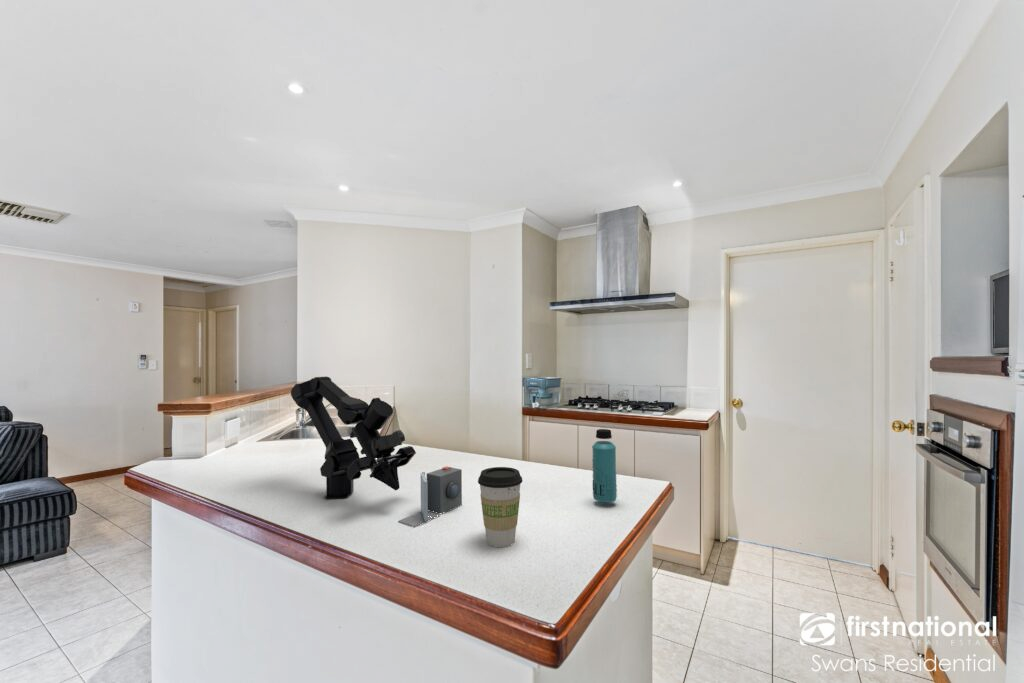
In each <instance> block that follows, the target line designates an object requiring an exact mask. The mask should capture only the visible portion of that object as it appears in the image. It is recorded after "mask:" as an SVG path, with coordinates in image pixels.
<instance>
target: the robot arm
mask: <svg viewBox="0 0 1024 683" xmlns="http://www.w3.org/2000/svg"><path fill="white" fill-rule="evenodd" d="M290 396H291V398H292V400H293V401H294V402H295V404H296V405H297V406H298V407H299V408H301V409H302V410H305V411H306V412H307V414H308V416H309V417H310V420H311V421H312V424H313V425H314V427H315V429H316V431H317V433H318V435H319V437H320V439H321V440H322V443H323V444H324V446H325V453H324V460H325V461H324V463H322V465H321V467H320V468H319V470H320V475H321V476H322V477H325V480H326V489H325V491H326V493H325V494H326V495H324V497H323V498H324V499H325V498H330V499H345V498H346V499H348V498H349V497H348V496H349V495H350V496H351V494H352V493H353V492H354V484H355V483H354V480H358V479H360V478H361V475H362V472H363V471H366V470H370V472H371V473H370V474H369V478H373V479H376V480H377V481H379V482H381V483H383V484H384V485H386V486H387V487H388V488H390V489H393V490H394V491H398V490H400V480H399V473H398V468H400V467H404V466H406V465H407V464H409V462H410V461H411V460H412V458H413V457H414V456H415V455H416V454H417V452H416V450H415V448H414V446H411V445H408V446H405V447H399V449H398V450H397V451H396V449H395V448H396V447H398V446H402V445H403V442H405V441H406V438H405V437H406V436H405V434H404V433H403V431H402V430H401V429H399V430H395V431H393V432H392V433H390V434H387V435H384V434H383V435H381V433H380V432H379V430H381V429H383V427H384V426H385V425H386V424H387V422H388V420H389V419H390V418H391V416H392V415H393V413H394V409H393V407H392V405H391V404H389V403H388V402H386V401H385V400H381V398H380V397H373V398H372V399H371V400H370V403H369V404H368V402H366V401H364V400H362V399H361V398H356V397H353V396H350V395H349V394H348V393H347V392H345V390H343V389H342V388H341V387H339V386H338V385H337V384H336V383H335V382H334V381H332V378H331V377H329V376H316V377H312V378H311V379H309V380H306V381H303V382H300V383H295V384H294V385H293V387H292V388H291V390H290ZM324 399H325V400H326V401H327V402H329V404H331V405H332V406H333V407H334V408H335V409H336V411H337V414H336V415H337V417H338V418H339V419H340V421H341V422H342V423H343V424H344V425H345V426H346V425H347V426H348V425H349V426H350V425H353V424H356V425H355V426H354V427H352V428H351V432H350V434H349V438H346V439H344V438H342V436H341V434H340V432H339V430H338V428H337V427H336V424H335V422H334V421H333V418H332V417H331V415H330V414H329V412H328V410H327V408H326V407H325V405H324V402H323V400H324ZM353 438H355V439H356V440H357V442H358V443H359V446H360V447H361V450H360V454H361V455H365V456H363V457H362V456H361V457H360V454H359V452H358V448H357V447H356V445H355V444H354V441H353V440H352V439H353ZM395 451H396V453H395V454H392V453H394V452H395ZM347 497H348V498H347Z"/></svg>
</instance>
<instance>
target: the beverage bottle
mask: <svg viewBox="0 0 1024 683" xmlns="http://www.w3.org/2000/svg"><path fill="white" fill-rule="evenodd" d="M595 434H596V435H595V438H596V439H601V440H598V441H596V442H594V444H593V445H592V459H591V461H592V462H591V463H592V496H593V499H594V500H595V501H596V502H601V503H613V502H615V501H616V500H617V498H618V495H617V494H618V492H617V491H618V490H617V489H618V488H617V463H616V462H617V460H616V454H617V453H616V451H617V450H616V448H617V446H616V445H615V444H614V442H612V441H608V440H610V439H612V430H611V429H607V428H606V429H605V428H599V429H596V431H595Z"/></svg>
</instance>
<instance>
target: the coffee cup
mask: <svg viewBox="0 0 1024 683" xmlns="http://www.w3.org/2000/svg"><path fill="white" fill-rule="evenodd" d="M477 483H478V484H479V487H480V501H481V503H480V504H481V511H482V519H483V526H484V532H485V539H486V543H487V545H489V544H490V545H489V546H491V545H492V546H491V547H494V546H496V547H495V548H505V546H506V547H509V545H510V546H512V545H513V544H514V543H515V541H516V532H517V526H518V517H519V511H520V510H519V509H520V499H521V493H520V492H521V484H522V483H523V476H522V475H521V474H520V470H518V469H516V468H513V467H507V466H495V467H488V468H485V469H482V470H481V471H480V475H479V476H478V479H477ZM511 544H512V545H511Z"/></svg>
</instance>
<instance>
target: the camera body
mask: <svg viewBox="0 0 1024 683" xmlns="http://www.w3.org/2000/svg"><path fill="white" fill-rule="evenodd" d="M462 472H463V471H462V469H461V468H456V467H452V466H447V465H446V466H443V467H442V468H439V469H436V470H433V471H431V472H427V473H426V479H427V482H428V510H430V511H434V512H437V513H443V512H445V513H447V512H446V511H448V510H450V509H452V510H454V509H456V508H455V507H457V508H458V506H459V507H461V506H463V490H462V488H463V486H462V484H463V482H462V481H463V480H462V478H463V476H462V474H463V473H462ZM460 505H461V506H460ZM453 508H454V509H453ZM430 511H428V516H429V517H428V520H430V519H433V518H434V517H437V515H438V516H439V515H440V514H437V513H434V512H430ZM450 511H451V510H450ZM448 512H449V511H448ZM443 514H444V513H443ZM430 516H431V517H432V518H431V517H430ZM439 517H440V516H439ZM437 518H438V517H437ZM433 520H434V519H433ZM430 521H431V520H430ZM400 522H401V523H400ZM424 522H426V521H424V518H423V515H422V512H421V511H419V512H416V513H414V514H411V515H409V516H406V517H404V518H402V519H399V520H398V523H400V524H403V523H404V524H403V525H406V524H407V526H409V525H410V526H409V527H412V526H413V527H412V528H416V526H417V527H418V525H419V526H421V525H423V524H422V523H424ZM426 523H427V522H426ZM420 524H421V525H420ZM424 524H425V523H424Z"/></svg>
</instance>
